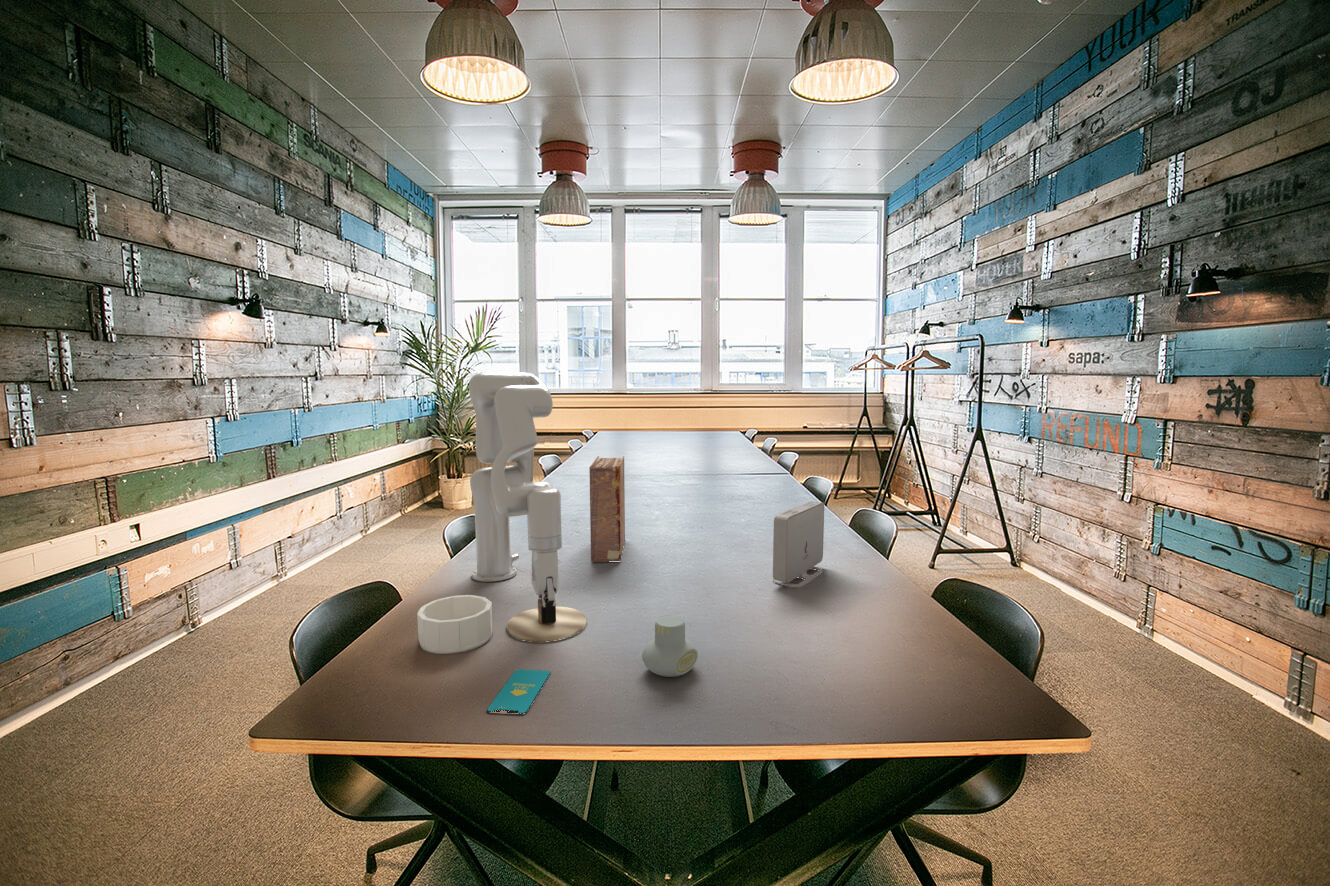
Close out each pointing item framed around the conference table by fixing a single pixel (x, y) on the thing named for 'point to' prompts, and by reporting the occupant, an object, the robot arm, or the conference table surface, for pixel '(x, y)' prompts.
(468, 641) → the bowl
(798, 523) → the network device
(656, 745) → the conference table surface
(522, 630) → the lid
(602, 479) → the book
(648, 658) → the air freshener
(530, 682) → the smartphone
